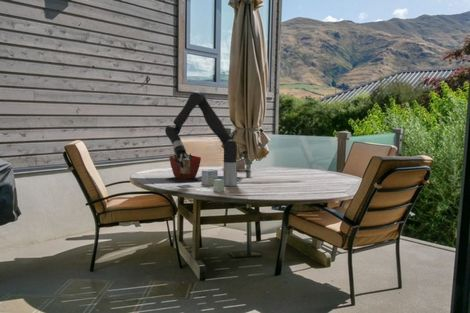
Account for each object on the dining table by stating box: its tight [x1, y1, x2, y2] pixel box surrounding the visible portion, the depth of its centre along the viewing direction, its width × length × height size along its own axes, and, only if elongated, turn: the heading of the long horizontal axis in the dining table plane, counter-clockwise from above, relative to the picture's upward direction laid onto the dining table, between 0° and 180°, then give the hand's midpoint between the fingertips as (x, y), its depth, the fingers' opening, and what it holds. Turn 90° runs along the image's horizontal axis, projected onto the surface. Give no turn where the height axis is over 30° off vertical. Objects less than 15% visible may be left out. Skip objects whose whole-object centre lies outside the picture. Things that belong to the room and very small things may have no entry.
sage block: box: [212, 178, 225, 193], centre depth 288 cm, size 5×5×8 cm
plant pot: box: [168, 154, 202, 180], centre depth 342 cm, size 19×19×17 cm
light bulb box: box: [201, 168, 219, 186], centre depth 314 cm, size 11×7×11 cm, turn 141°
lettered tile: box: [195, 187, 212, 192], centre depth 291 cm, size 9×9×1 cm
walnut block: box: [180, 158, 190, 174], centre depth 300 cm, size 5×5×10 cm
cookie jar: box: [222, 159, 247, 172], centre depth 397 cm, size 25×25×32 cm
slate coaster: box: [176, 184, 194, 189], centre depth 301 cm, size 9×9×1 cm
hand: (186, 166), depth 298 cm, fingers closed on walnut block, 5 cm apart
